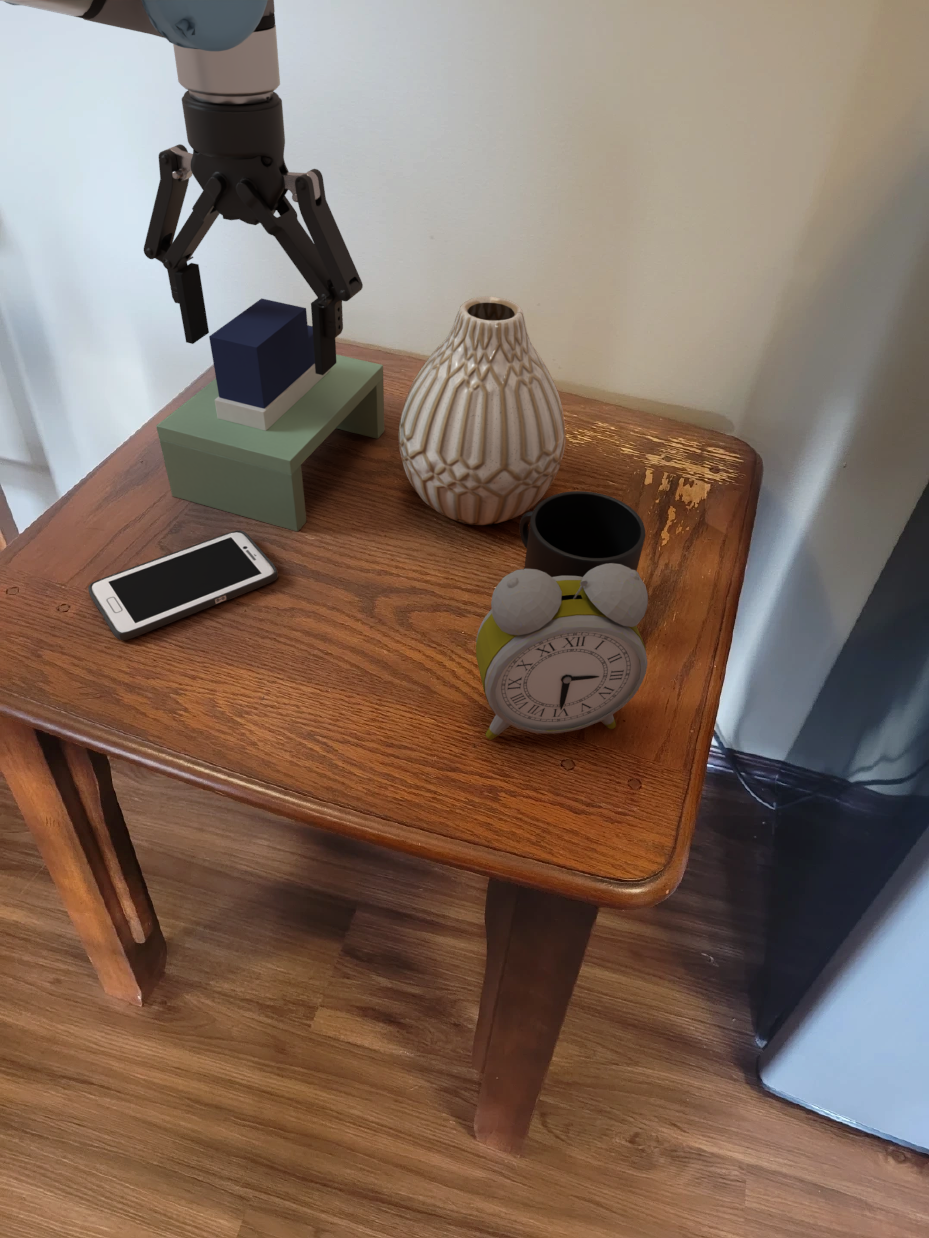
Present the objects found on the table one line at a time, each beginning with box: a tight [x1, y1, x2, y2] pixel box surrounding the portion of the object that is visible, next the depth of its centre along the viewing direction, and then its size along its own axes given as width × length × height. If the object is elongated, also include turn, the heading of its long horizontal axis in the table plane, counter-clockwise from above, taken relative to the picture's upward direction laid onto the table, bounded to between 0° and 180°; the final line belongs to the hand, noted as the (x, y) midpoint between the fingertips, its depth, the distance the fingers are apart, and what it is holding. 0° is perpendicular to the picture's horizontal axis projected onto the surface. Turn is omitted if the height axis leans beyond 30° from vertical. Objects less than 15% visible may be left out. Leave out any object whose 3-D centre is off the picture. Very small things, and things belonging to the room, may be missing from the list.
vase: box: [397, 295, 567, 526], centre depth 79 cm, size 16×16×20 cm
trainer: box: [208, 298, 330, 431], centre depth 81 cm, size 13×5×8 cm, turn 159°
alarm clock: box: [475, 563, 649, 741], centre depth 61 cm, size 12×7×15 cm, turn 99°
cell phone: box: [87, 529, 279, 641], centre depth 74 cm, size 8×15×1 cm, turn 127°
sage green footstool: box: [155, 353, 385, 532], centre depth 87 cm, size 14×20×8 cm
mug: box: [518, 490, 646, 577], centre depth 73 cm, size 9×12×9 cm
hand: (260, 353), depth 79 cm, fingers open, 13 cm apart
